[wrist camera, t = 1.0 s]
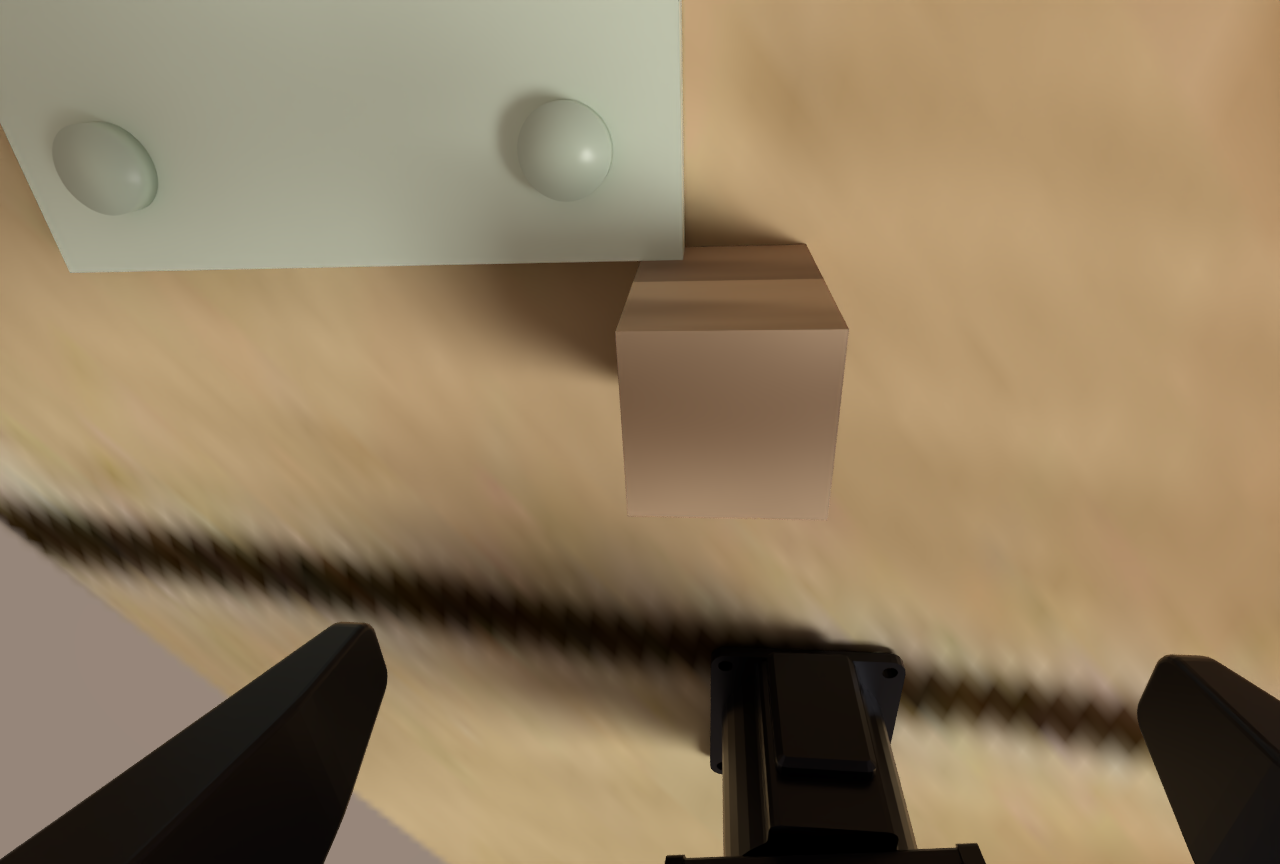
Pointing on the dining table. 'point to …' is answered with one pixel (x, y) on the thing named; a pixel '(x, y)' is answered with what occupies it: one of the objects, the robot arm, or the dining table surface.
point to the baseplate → (347, 130)
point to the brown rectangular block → (730, 385)
